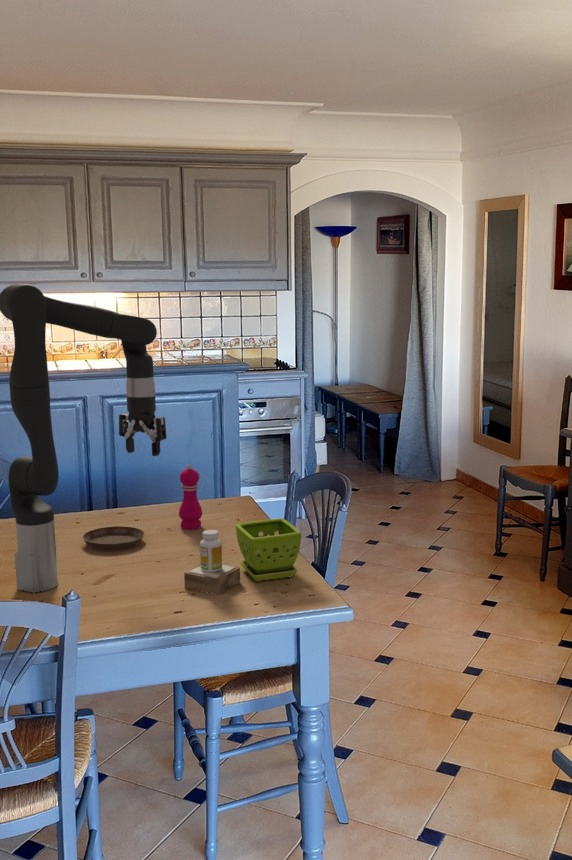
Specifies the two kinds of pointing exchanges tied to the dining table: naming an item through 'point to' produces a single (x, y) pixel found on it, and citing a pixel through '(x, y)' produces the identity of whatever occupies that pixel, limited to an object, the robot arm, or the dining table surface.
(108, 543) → the plant saucer
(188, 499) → the pepper mill
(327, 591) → the dining table surface
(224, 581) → the pedestal
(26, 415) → the robot arm
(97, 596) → the dining table surface
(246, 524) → the flower pot
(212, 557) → the supplement bottle
